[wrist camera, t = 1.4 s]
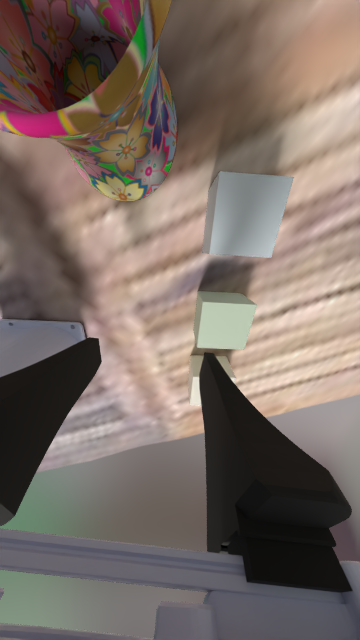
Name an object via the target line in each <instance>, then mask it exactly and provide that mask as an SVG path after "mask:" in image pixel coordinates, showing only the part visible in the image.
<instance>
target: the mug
mask: <svg viewBox="0 0 360 640" xmlns="http://www.w3.org/2000/svg"><path fill="white" fill-rule="evenodd" d="M171 1H172V0H0V130H2V131H6V132H9V133H13V134H17V135H21V136H28V137H36V138H51V139H53V140H56V141H57V142H59V143H61V144H62V145H64V146H65V149H66V151H67V153H68V155H69V157H70V159H71V161H72V162H73V164H74V166H75V167H76V169H77V170H78V171H79V173H80V174H81V175H82V177H83V178H84V179H85V180H86V181H87V182H88V183H89V184H90V185H91V186H92V187H93V188H95V189H96V190H97V191H99V192H100V193H102V194H103V195H105V196H107V197H110V198H112V199H115V200H120V201H135V200H139V199H142V198H145V197H146V196H148V195H150V194H151V193H153V192H154V191H155V190H156V189H157V188H158V187H159V186H160V185H161V183H162V182H163V181H164V179H165V177H166V176H167V174H168V172H169V170H170V167H171V165H172V162H173V158H174V155H175V150H176V143H177V117H176V110H175V105H174V100H173V96H172V93H171V90H170V87H169V84H168V82H167V79H166V77H165V75H164V73H163V71H162V69H161V67H160V65H159V63H158V48H159V40H160V35H161V31H162V29H163V26H164V23H165V20H166V17H167V15H168V12H169V8H170V4H171Z"/></svg>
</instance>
